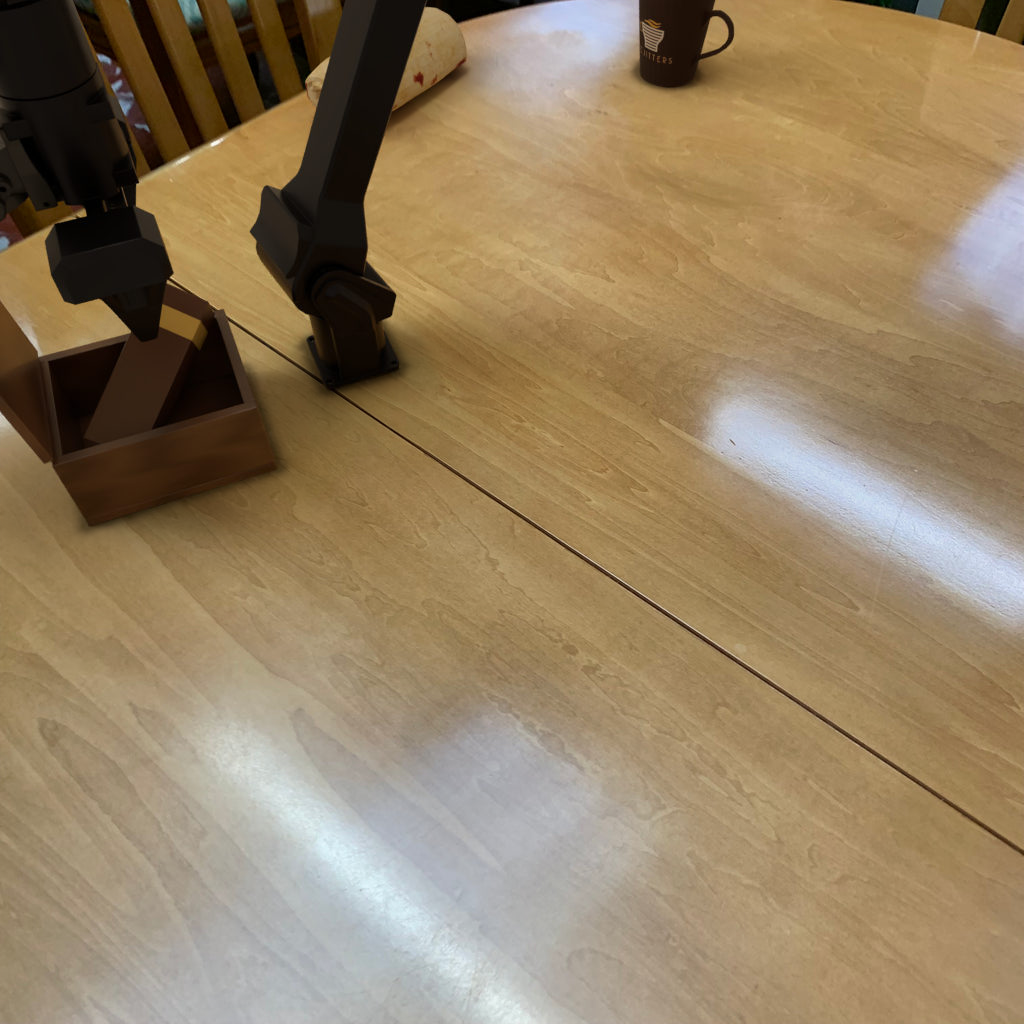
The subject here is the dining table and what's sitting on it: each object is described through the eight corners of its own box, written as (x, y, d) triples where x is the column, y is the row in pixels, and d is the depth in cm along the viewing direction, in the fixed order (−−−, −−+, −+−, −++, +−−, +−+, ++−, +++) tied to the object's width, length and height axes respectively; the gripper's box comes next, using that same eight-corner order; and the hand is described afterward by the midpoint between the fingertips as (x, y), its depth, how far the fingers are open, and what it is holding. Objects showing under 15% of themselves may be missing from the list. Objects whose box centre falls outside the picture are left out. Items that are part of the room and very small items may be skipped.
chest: (244, 371, 77) (223, 308, 72) (277, 469, 71) (257, 407, 65) (71, 419, 74) (35, 357, 69) (89, 526, 68) (51, 466, 62)
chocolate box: (81, 437, 65) (154, 277, 66) (97, 441, 70) (164, 291, 70) (138, 460, 66) (209, 301, 67) (150, 463, 70) (216, 314, 71)
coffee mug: (618, 61, 109) (626, -30, 101) (686, 49, 110) (699, -41, 102) (657, 110, 102) (669, 17, 94) (729, 98, 103) (746, 4, 95)
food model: (362, 150, 99) (474, 76, 109) (362, 93, 93) (481, 21, 103) (293, 108, 101) (410, 39, 111) (290, 50, 95) (413, -17, 106)
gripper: (-115, 30, 55) (4, 250, 67) (-112, 199, 44) (29, 423, 56) (79, -6, 57) (159, 212, 69) (126, 146, 47) (210, 372, 59)
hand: (137, 297), depth 64 cm, fingers open, 9 cm apart
